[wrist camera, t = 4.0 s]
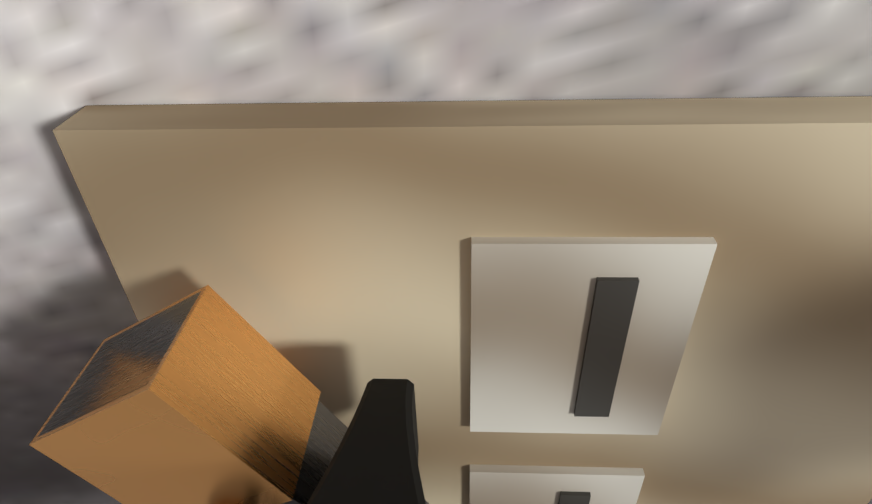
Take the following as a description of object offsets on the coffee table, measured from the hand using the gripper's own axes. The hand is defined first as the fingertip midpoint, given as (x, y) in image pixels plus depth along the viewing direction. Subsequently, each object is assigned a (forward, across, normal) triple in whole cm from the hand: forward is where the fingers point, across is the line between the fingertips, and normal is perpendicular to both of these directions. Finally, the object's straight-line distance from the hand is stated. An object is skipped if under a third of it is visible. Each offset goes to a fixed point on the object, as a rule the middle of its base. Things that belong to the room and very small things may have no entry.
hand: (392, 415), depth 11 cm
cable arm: (+1, 0, +5) cm, 5 cm away
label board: (+2, -3, +4) cm, 5 cm away
